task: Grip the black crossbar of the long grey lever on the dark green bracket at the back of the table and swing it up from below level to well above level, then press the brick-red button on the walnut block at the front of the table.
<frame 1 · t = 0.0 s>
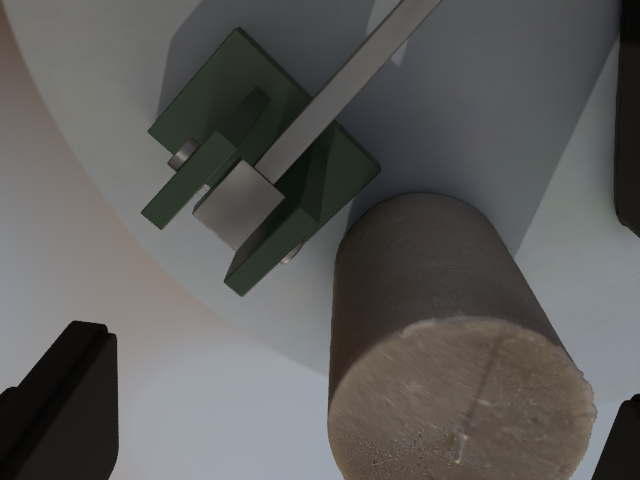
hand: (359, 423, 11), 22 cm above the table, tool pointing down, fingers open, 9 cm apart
lever: (360, 67, 24), point 7 cm above the table, hinge at -18.0°
pillar candle: (419, 267, 35), on the table
bracket: (267, 145, 32), on the table
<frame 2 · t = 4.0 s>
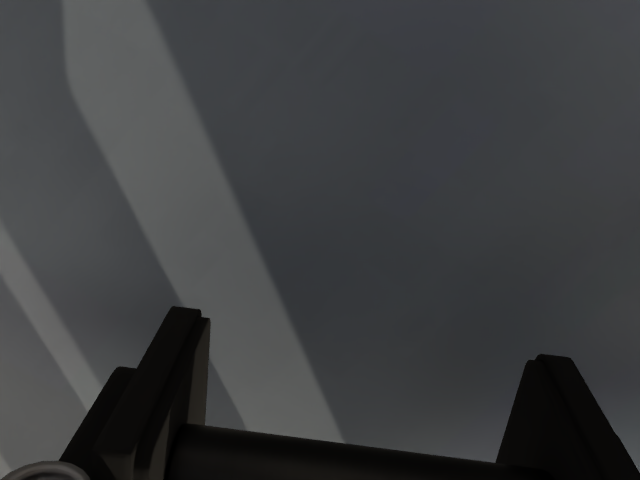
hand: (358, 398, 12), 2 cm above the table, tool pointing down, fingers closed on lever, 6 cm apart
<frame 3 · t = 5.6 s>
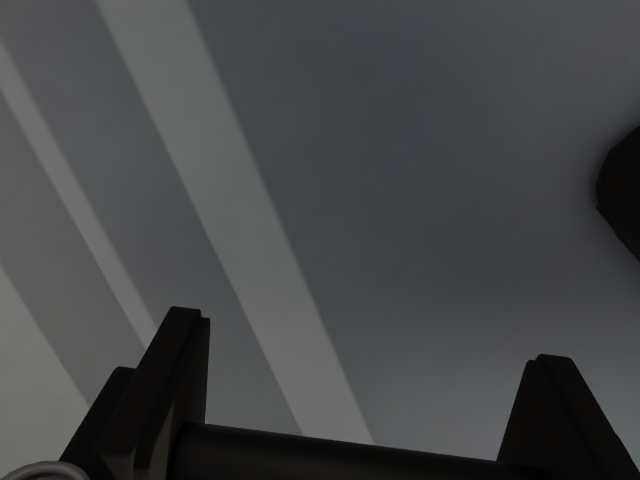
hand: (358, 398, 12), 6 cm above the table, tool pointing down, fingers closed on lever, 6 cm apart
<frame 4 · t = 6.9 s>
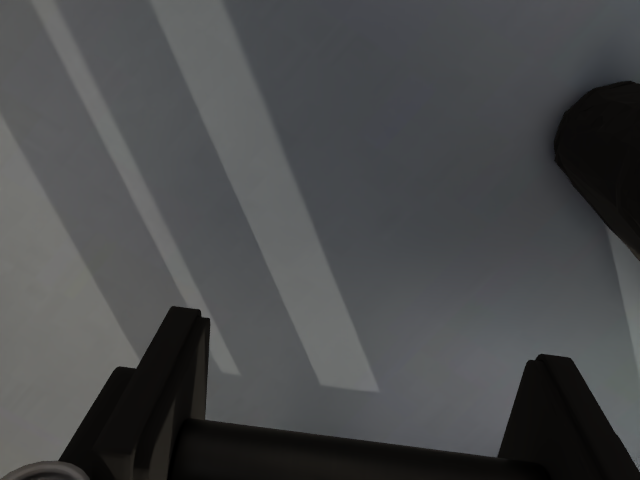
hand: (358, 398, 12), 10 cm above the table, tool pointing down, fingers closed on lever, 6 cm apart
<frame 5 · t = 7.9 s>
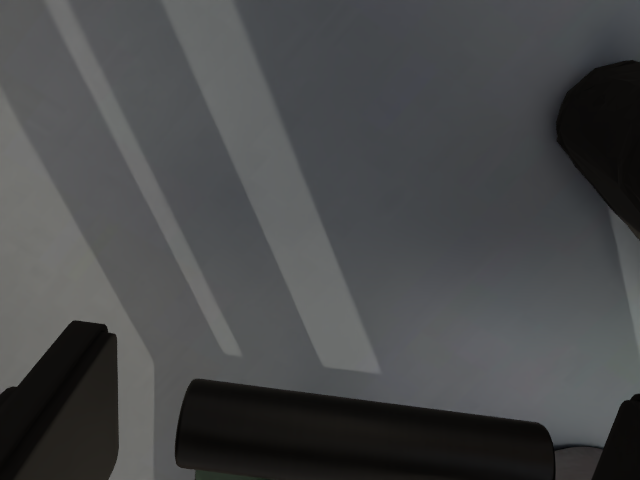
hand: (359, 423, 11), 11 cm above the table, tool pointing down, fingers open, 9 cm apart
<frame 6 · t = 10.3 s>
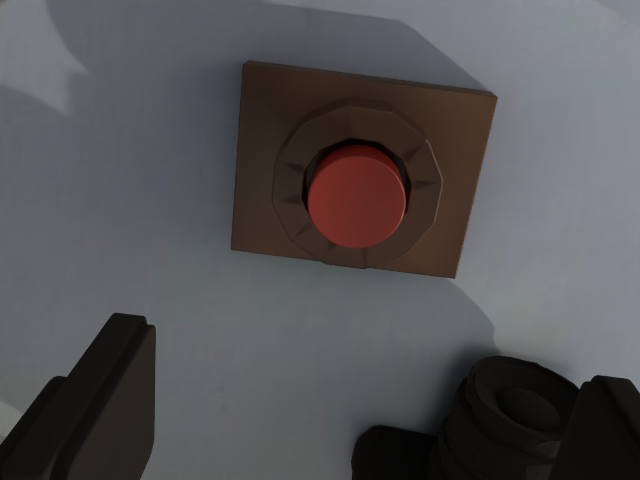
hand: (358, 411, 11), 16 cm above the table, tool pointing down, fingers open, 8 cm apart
film camera: (494, 429, 31), on the table
button: (356, 196, 23), point 3 cm above the table, slide at 0.1 cm
button block: (355, 170, 26), on the table
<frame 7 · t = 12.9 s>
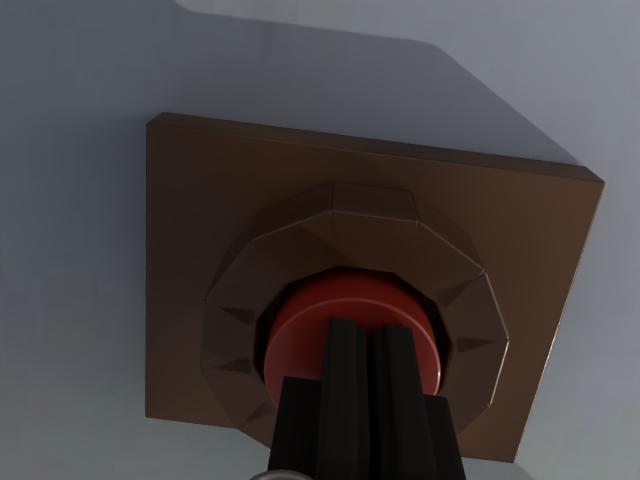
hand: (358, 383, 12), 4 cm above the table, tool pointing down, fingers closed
button: (351, 352, 13), point 3 cm above the table, slide at -0.5 cm, touching gripper
button block: (350, 289, 16), on the table
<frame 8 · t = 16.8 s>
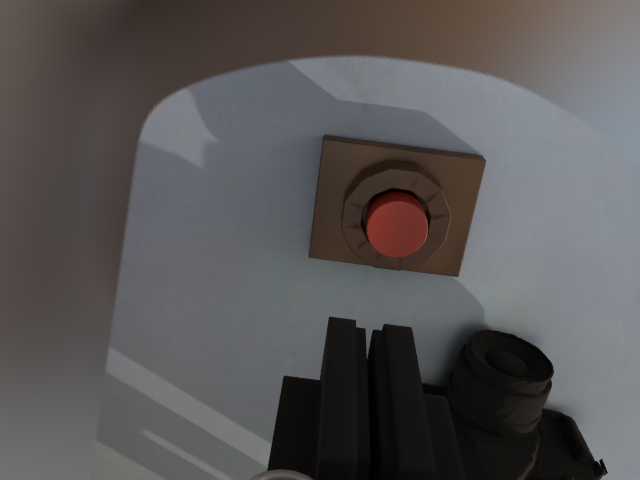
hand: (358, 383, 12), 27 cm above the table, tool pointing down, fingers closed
film camera: (485, 382, 45), on the table
button: (396, 224, 36), point 3 cm above the table, slide at 0.1 cm
button block: (392, 204, 39), on the table
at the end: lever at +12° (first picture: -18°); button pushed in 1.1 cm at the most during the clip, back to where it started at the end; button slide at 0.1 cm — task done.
